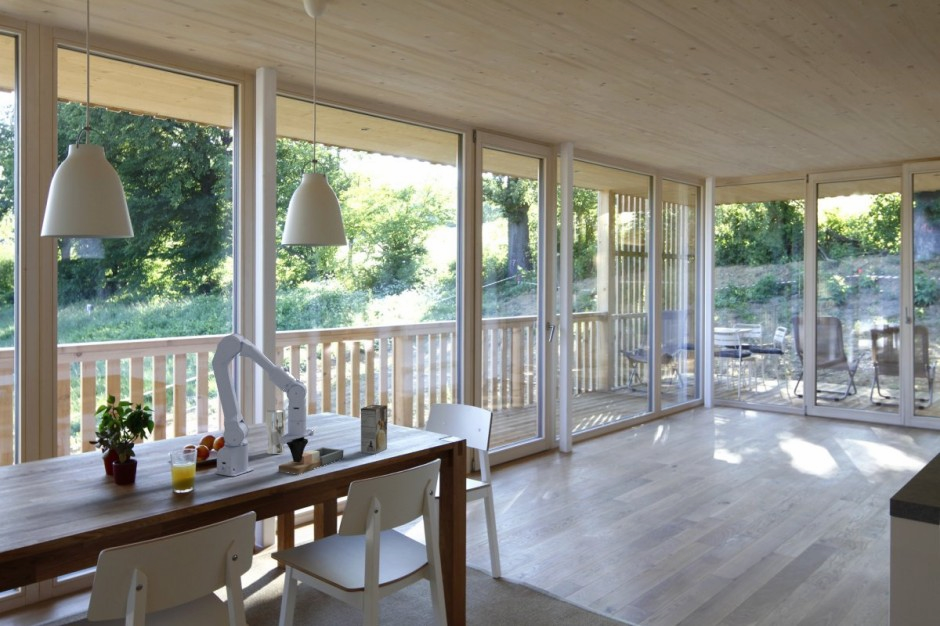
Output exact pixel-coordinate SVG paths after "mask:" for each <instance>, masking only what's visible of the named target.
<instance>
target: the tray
mask: <svg viewBox="0 0 940 626" xmlns="http://www.w3.org/2000/svg"><path fill="white" fill-rule="evenodd" d="M313 451H319V459H317V460H322V467H324V465H325V466H327V465H326V464H328V465H330V464H332V463H331V462H333V463H335V462H334V461H336V462H338V461H337V460H339V459H341V460H343V459H344V449H337V448H330V447H320V448H316V449H314V450H313ZM342 458H343V459H342ZM339 461H340V460H339ZM329 463H330V464H329Z"/></svg>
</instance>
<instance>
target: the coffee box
mask: <svg viewBox="0 0 940 626" xmlns="http://www.w3.org/2000/svg"><path fill="white" fill-rule="evenodd" d="M386 449H387V450H388V405H384V404H383V405H381V404H370V405H367V406H364V407H362V408H360V453H361V452H363V454H372V455H374V454H375V455H377V454H379V453H381V452H383V451H384V450H386Z"/></svg>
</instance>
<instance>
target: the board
mask: <svg viewBox="0 0 940 626" xmlns="http://www.w3.org/2000/svg"><path fill="white" fill-rule="evenodd" d="M320 466H322V460H315V461H312V462H309V463H306V464H300V463H294V461H293V460H291V461H289V462H286V463H282V464H280V465H278V472H279V471H282V472H281V473H283V472H289V473H295V474H294V475H296V474H300V475H302V474H305V473H307V472H306V471H308V472H310V471H309V470H311V471H313V470H315V469H314V468H316V469H318V468H317V467H319V468H321V467H320ZM322 467H323V466H322ZM312 469H313V470H312ZM304 472H305V473H304ZM289 473H288V474H289ZM301 473H302V474H301Z"/></svg>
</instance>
